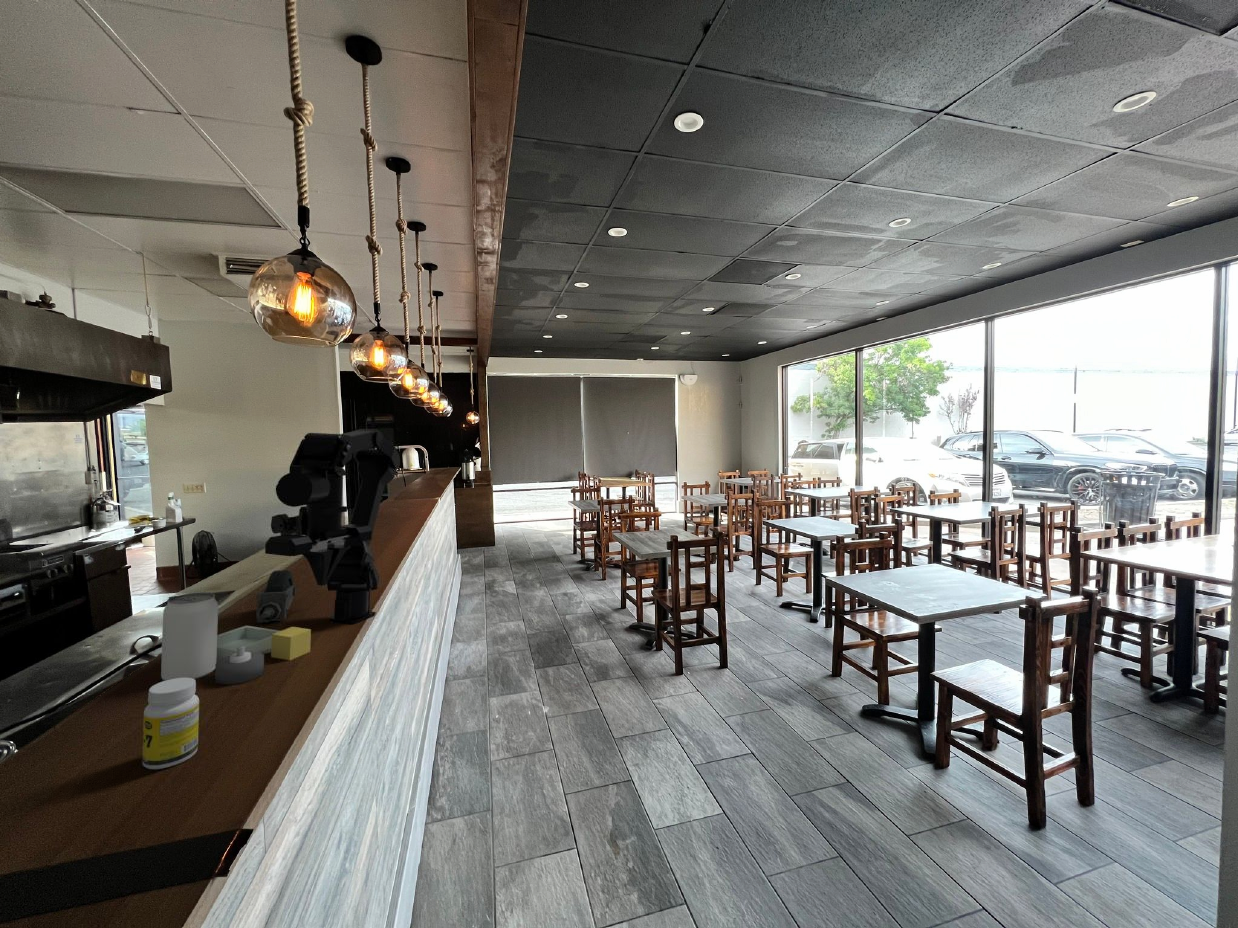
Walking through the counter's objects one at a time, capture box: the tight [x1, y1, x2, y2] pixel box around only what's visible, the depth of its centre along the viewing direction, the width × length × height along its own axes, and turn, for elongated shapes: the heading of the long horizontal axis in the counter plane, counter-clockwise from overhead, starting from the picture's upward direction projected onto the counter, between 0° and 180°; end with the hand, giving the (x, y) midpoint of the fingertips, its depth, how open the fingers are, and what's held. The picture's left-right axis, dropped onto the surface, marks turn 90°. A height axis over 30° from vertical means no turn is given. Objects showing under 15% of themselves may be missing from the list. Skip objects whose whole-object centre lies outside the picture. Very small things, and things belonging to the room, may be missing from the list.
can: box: [160, 592, 219, 681], centre depth 77 cm, size 6×6×12 cm
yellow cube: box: [270, 626, 312, 661], centre depth 86 cm, size 4×4×4 cm
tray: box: [216, 625, 280, 662], centre depth 86 cm, size 9×9×2 cm
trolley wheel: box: [214, 646, 265, 685], centre depth 77 cm, size 6×6×4 cm
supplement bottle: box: [141, 678, 200, 770], centre depth 56 cm, size 5×5×8 cm
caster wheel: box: [255, 569, 297, 624], centre depth 104 cm, size 6×10×15 cm
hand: (321, 584), depth 91 cm, fingers closed
